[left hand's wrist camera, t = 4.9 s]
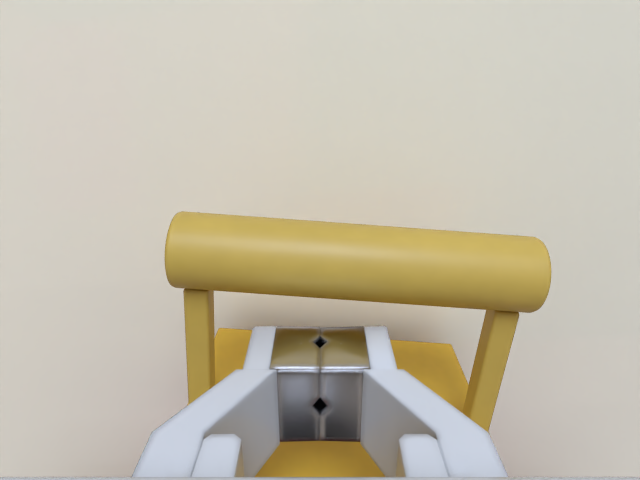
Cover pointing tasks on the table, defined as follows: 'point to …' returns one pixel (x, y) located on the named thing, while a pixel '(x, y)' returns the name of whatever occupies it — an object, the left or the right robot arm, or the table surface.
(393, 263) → the drawer
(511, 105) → the table surface
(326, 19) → the table surface
